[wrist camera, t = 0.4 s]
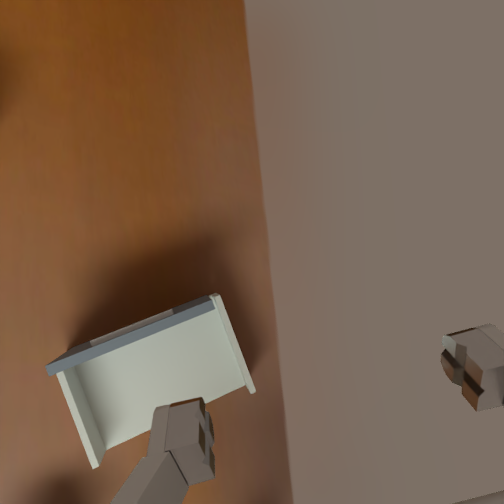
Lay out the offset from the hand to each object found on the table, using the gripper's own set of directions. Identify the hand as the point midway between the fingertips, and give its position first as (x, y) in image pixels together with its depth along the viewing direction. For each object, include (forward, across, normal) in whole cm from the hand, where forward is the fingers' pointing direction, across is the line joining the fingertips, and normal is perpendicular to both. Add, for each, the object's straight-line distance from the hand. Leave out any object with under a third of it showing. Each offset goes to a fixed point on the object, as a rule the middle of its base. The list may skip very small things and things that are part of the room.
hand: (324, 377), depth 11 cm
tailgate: (+42, -22, -25) cm, 54 cm away
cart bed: (+40, -22, -34) cm, 57 cm away
